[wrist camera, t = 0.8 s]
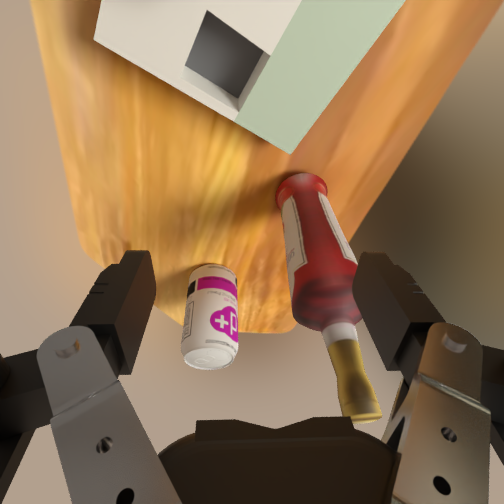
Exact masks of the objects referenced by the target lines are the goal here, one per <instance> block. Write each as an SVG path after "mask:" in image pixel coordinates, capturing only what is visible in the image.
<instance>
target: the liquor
mask: <svg viewBox="0 0 504 504" xmlns="http://www.w3.org/2000/svg"><path fill="white" fill-rule="evenodd" d="M275 201H276V204H277V206H278V208H279V209H280V210H281V217H282V223H283V231H284V239H285V249H286V260H287V272H288V280H289V287H290V295H291V304H292V313H293V317H294V319H295V320H296V321H297V322H298V323H299V324H301V325H303V326H305V327H308V328H310V329H312V330H316V331H321V332H322V335H323V338H324V341H325V344H326V347H327V350H328V353H329V356H330V359H331V362H332V365H333V367H334V370H335V373H336V376H337V388H338V399H339V403H340V407H341V411H342V415H343V416H351V420H352V423H353V424H362V423H368V422H373V421H376V420H378V419H380V418H381V417H382V413H381V411H380V407H379V404H378V401H377V398H376V395H375V392H374V389H373V387H372V385H371V383H370V381H369V379H368V377H367V375H366V373H365V369H364V365H363V360H362V356H361V351H360V346H359V342H358V337H357V333H356V328H355V324H356V323H358V322H359V321H360V320H361V319H362V315H361V313H360V311H359V309H358V307H357V305H356V302H355V300H354V298H353V294H352V283H353V280H354V276H355V273H356V269H357V266H358V264H357V261H356V259H355V257H354V255H353V252H352V250H351V248H350V247H349V244H348V242H347V240H346V238H345V236H344V234H343V232H342V230H341V228H340V226H339V224H338V221H337V219H336V217H335V215H334V213H333V210H332V208H331V206H330V203H329V201H328V199H327V186H326V184H325V182H324V181H323V180H322V179H321V178H320V177H318V176H317V175H314V174H310V173H300V174H296V175H293V176H291V177H289V178H287V179H286V180H285V181H284V182H282V183H281V185H280V186H279V187H278V189H277V191H276V195H275Z"/></svg>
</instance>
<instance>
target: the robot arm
mask: <svg viewBox="0 0 504 504" xmlns="http://www.w3.org/2000/svg"><path fill="white" fill-rule="evenodd" d="M352 294H353V298H354V300H355V302H356V305H357V307H358V309H359V311H360V313H361V315H362V318H363V320H364V322H365V324H366V326H367V328H368V331H369V333H370V335H371V337H372V339H373V341H374V344H375V346H376V348H377V350H378V352H379V354H380V356H381V359H382V361H383V363H384V365H385V367H386V370H387V371H401V372H402V374H403V378H402V380H401V382H400V385H399V388H398V392H397V395H396V398H395V401H394V405H393V408H392V411H391V414H390V418H389V421H388V424H387V427H386V430H385V432H384V435H383V437H382V439H381V440H379V439H377V438H375V437H373V436H371V435H370V434H367V433H365V432H362V431H359V430H356V429H354V426H353V423H352V420H351V416H343V417H313V418H310V419H307V420H304V421H301V422H297V423H294V424H291V425H288V426H285V427H282V428H278V429H272V428H268V427H264V426H260V425H256V424H252V423H248V422H243V421H239V420H235V419H234V420H197V421H196V431H195V433H193V434H190V435H187V436H185V437H183V438H181V439H178V440H177V441H175V442H174V443H172V444H170V445H169V446H168V447H166V448H165V449H164V450H162V451H161V452H160V453H159V454H158V455H157V453H156V451H155V450H154V448H153V446H152V444H151V442H150V440H149V438H148V436H147V434H146V432H145V430H144V428H143V426H142V424H141V422H140V420H139V418H138V416H137V414H136V412H135V410H134V408H133V406H132V404H131V402H130V400H129V399H128V396H127V394H126V393H125V390H124V389H123V387H122V385H121V383H120V381H119V380H117V379H118V376H119V375H131V373H132V369H133V366H134V363H135V360H136V357H137V354H138V351H139V347H140V344H141V341H142V338H143V335H144V332H145V328H146V325H147V322H148V319H149V316H150V312H151V310H152V306H153V303H154V300H155V296H156V281H155V276H154V271H153V265H152V260H151V255H150V252H149V251H148V250H127V251H126V252H125V254H124V256H123V258H122V259H121V261H120V263H119V264H111V265H110V266H109V267H107V268H106V269H105V270H104V271H102V272H101V273H100V275H99V277H98V278H97V280H96V282H95V283H94V286H93V287H92V288H91V290H90V292H89V294H88V295H87V297H86V299H85V300H84V302H83V303H82V305H81V307H80V309H79V310H78V312H77V314H76V315H75V317H74V319H73V320H72V322H71V324H70V325H69V327H67V328H64V329H61V330H59V331H57V332H55V333H53V334H52V335H50V336H49V337H48V338H47V339H46V340H45V341H44V342H43V343H42V344H41V345H40V347H39V349H36V350H33V351H29V352H25V353H21V354H17V355H13V356H9V357H6V358H3V357H2V355H1V354H0V504H2V501H3V499H4V497H5V495H6V493H7V490H8V488H9V486H10V484H11V482H12V480H13V477H14V475H15V473H16V471H17V469H18V466H19V464H20V462H21V460H22V458H23V455H24V454H25V451H26V449H27V447H28V445H29V443H30V440H31V438H32V436H33V434H34V432H35V430H36V428H39V427H42V426H45V425H48V424H51V428H52V432H53V435H54V439H55V443H56V447H57V450H58V454H59V457H60V461H61V465H62V468H63V472H64V475H65V479H66V482H67V486H68V490H69V493H70V497H71V501H72V504H488V499H489V498H488V497H489V464H490V463H489V462H490V443H491V445H492V446H493V448H494V450H495V451H496V453H497V455H498V457H499V458H500V460H501V462H502V463H503V465H504V350H501V349H497V348H492V347H488V346H484V345H481V344H480V342H479V341H478V339H477V338H476V337H474V336H473V335H472V334H471V333H470V332H468V331H467V330H465V329H463V328H462V327H459V326H457V325H454V324H451V323H447V322H446V321H445V320H444V319H443V317H442V316H441V315H440V313H439V312H438V311H437V309H436V308H435V307H434V305H433V304H432V303H431V301H430V300H429V299H428V297H427V296H426V295H425V294H423V291H422V289H421V288H420V287H419V286H418V285H417V283H416V281H415V280H414V279H413V278H412V276H411V275H410V273H408V272H407V271H405V270H404V269H403V268H401V267H400V266H399V265H394V264H393V263H392V261H391V260H390V259H389V257H388V256H387V255H386V253H384V252H363V253H362V254H361V256H360V259H359V263H358V266H357V269H356V273H355V276H354V280H353V283H352Z"/></svg>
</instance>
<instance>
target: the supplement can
mask: <svg viewBox="0 0 504 504" xmlns="http://www.w3.org/2000/svg"><path fill="white" fill-rule="evenodd" d="M237 351H238V311H237V278H236V276H235V274H234V273H233V272H232V271H231V270H230V269H228V268H226V267H224V266H222V265H217V264H207V265H204V266H201V267H199V268H197V269H196V270H194V271H193V272H192V273H191V275H190V277H189V285H188V293H187V301H186V310H185V318H184V326H183V334H182V342H181V352H182V354H183V356H184V361H185V362H186V363H187V364H188V365H189V366H191V367H193V368H197V369H204V370H215V369H220V368H224V367H226V366H229V365H230V364H231V363H232V362H233V360H234V357H235V355H236V353H237Z"/></svg>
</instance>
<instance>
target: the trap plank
mask: <svg viewBox="0 0 504 504" xmlns="http://www.w3.org/2000/svg"><path fill="white" fill-rule="evenodd" d="M405 1H406V0H102V1H101V5H100V10H99V15H98V20H97V25H96V30H95V35H94V40H95V41H96V42H98V43H100V44H101V45H103V46H105V47H107V48H108V49H110V50H112V51H113V52H115V53H117V54H119V55H120V56H122V57H124V58H125V59H127V60H129V61H131V62H132V63H134V64H136V65H137V66H139V67H141V68H143V69H144V70H146V71H148V72H149V73H151V74H153V75H155V76H156V77H158V78H160V79H161V80H163V81H165V82H167V83H168V84H170V85H172V86H173V87H175V88H177V89H179V90H180V91H182V92H184V93H185V94H187V95H189V96H191V97H192V98H194V99H196V100H197V101H199V102H201V103H203V104H204V105H206V106H208V107H209V108H211V109H213V110H215V111H216V112H218V113H220V114H221V115H223V116H225V117H227V118H228V119H230V120H232V121H233V122H235V123H237V124H239V125H240V126H242V127H244V128H245V129H247V130H249V131H251V132H252V133H254V134H256V135H258V136H259V137H261V138H263V139H264V140H266V141H268V142H270V143H271V144H273V145H275V146H276V147H278V148H280V149H282V150H283V151H285V152H287V153H288V154H290V155H291V153H292V152H293V151H294V149H295V148H296V147H297V145H298V144H299V143H300V141H301V140H302V139H303V137H304V136H305V135H306V133H307V132H308V130H309V129H310V128H311V126H312V125H313V124H314V122H315V121H316V120H317V118H318V117H319V116H320V114H321V113H322V112H323V110H324V109H325V108H326V106H327V105H328V104H329V102H330V101H331V100H332V98H333V97H334V96H335V94H336V93H337V92H338V90H339V89H340V88H341V86H342V85H343V84H344V82H345V81H346V80H347V78H348V77H349V76H350V74H351V73H352V72H353V70H354V69H355V68H356V66H357V65H358V64H359V62H360V61H361V59H362V58H363V57H364V55H365V54H366V53H367V51H368V50H369V49H370V47H371V46H372V45H373V43H374V42H375V41H376V39H377V38H378V37H379V35H380V34H381V33H382V31H383V30H384V29H385V27H386V26H387V25H388V23H389V22H390V21H391V19H392V18H393V17H394V15H395V14H396V13H397V11H398V10H399V9H400V7H401V6H402V5H403V3H404V2H405Z"/></svg>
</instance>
